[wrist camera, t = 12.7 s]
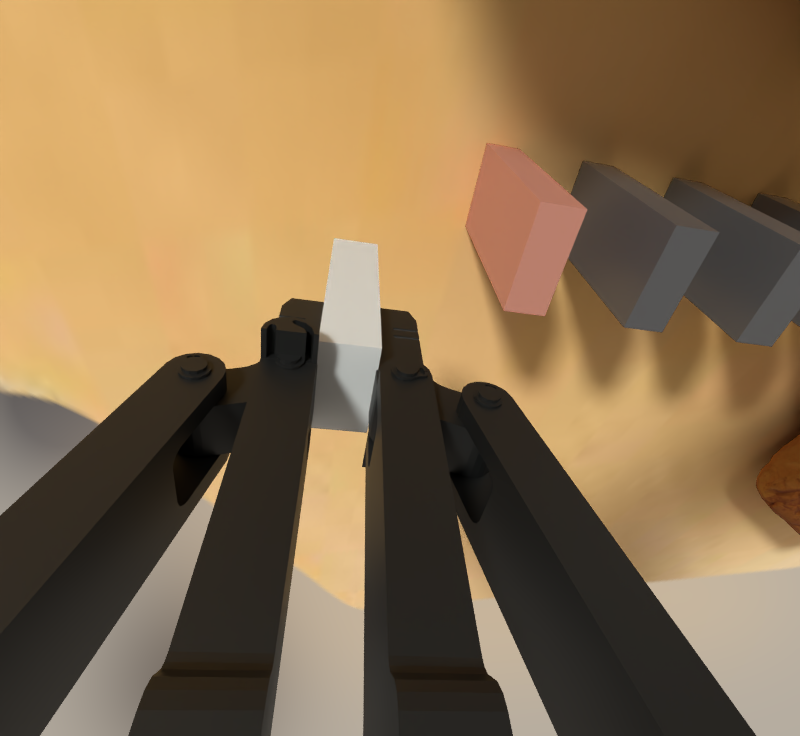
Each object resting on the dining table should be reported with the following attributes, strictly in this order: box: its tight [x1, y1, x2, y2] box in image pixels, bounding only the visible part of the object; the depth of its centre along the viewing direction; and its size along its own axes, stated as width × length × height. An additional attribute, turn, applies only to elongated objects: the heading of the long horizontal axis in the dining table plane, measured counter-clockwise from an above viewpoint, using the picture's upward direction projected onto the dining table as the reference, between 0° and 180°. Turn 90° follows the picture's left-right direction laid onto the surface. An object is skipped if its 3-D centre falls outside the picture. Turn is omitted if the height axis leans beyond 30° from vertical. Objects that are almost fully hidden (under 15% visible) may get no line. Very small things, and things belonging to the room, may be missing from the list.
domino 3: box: [664, 177, 800, 347], centre depth 27 cm, size 5×2×11 cm, turn 170°
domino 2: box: [568, 161, 720, 332], centre depth 26 cm, size 5×2×11 cm, turn 170°
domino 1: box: [466, 143, 587, 316], centre depth 25 cm, size 5×2×11 cm, turn 170°
